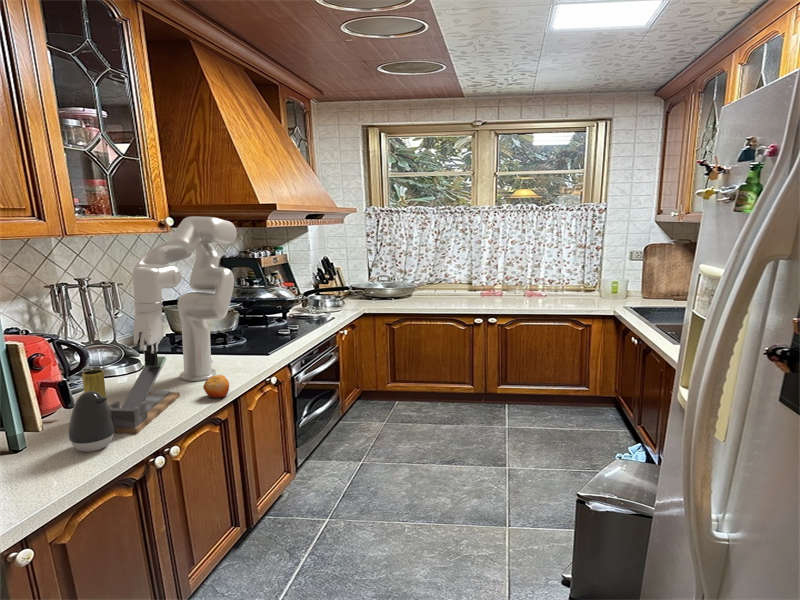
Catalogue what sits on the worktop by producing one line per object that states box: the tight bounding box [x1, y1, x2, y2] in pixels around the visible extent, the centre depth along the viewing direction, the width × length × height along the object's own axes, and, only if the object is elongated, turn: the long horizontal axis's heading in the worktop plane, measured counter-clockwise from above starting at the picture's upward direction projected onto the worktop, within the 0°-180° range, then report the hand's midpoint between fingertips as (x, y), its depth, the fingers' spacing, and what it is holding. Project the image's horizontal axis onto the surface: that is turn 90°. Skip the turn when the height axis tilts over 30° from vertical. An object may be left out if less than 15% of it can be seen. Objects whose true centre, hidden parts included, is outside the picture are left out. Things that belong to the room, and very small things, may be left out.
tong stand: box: [108, 389, 181, 435], centre depth 148 cm, size 28×10×6 cm, turn 1°
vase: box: [81, 368, 108, 404], centre depth 143 cm, size 6×6×14 cm
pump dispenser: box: [68, 391, 115, 453], centre depth 126 cm, size 10×10×15 cm
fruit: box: [203, 374, 230, 399], centre depth 164 cm, size 8×8×8 cm
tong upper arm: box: [120, 356, 167, 408], centre depth 148 cm, size 23×6×2 cm, turn 0°
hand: (151, 364), depth 153 cm, fingers closed
